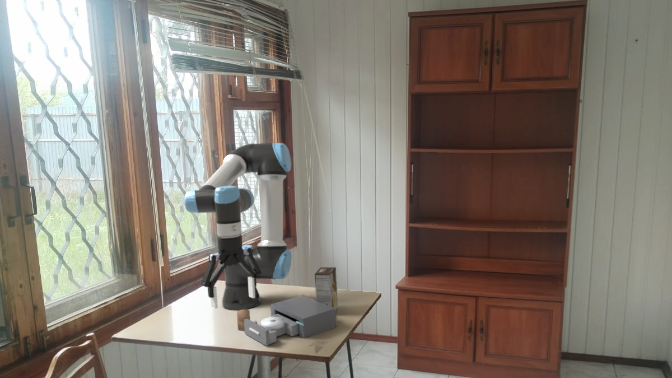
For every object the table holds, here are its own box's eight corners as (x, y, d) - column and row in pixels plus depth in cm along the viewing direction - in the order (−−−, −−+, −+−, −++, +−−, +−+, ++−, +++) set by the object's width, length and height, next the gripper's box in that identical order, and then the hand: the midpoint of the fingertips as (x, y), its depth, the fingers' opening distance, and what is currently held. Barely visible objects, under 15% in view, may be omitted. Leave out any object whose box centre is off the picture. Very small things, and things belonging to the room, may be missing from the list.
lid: (276, 319, 172) (276, 314, 172) (289, 325, 166) (289, 320, 166) (256, 325, 167) (256, 320, 167) (269, 332, 161) (268, 327, 161)
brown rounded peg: (235, 328, 174) (234, 311, 173) (246, 324, 176) (245, 308, 176) (241, 331, 170) (240, 314, 170) (252, 328, 173) (251, 311, 172)
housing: (271, 322, 178) (270, 304, 177) (303, 312, 187) (302, 295, 186) (303, 338, 162) (302, 319, 162) (336, 326, 171) (336, 308, 171)
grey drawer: (243, 333, 168) (242, 319, 167) (277, 322, 176) (276, 309, 176) (265, 346, 157) (264, 331, 156) (300, 334, 165) (299, 320, 165)
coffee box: (321, 307, 192) (320, 266, 190) (338, 307, 190) (336, 267, 189) (316, 315, 183) (314, 273, 181) (333, 316, 181) (331, 273, 180)
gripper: (197, 243, 143) (202, 314, 146) (269, 231, 159) (273, 295, 161) (187, 240, 149) (191, 308, 151) (257, 228, 165) (261, 290, 167)
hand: (233, 302), depth 156 cm, fingers open, 12 cm apart
